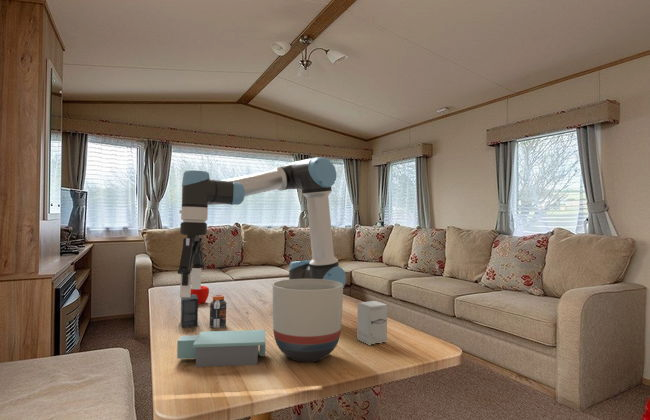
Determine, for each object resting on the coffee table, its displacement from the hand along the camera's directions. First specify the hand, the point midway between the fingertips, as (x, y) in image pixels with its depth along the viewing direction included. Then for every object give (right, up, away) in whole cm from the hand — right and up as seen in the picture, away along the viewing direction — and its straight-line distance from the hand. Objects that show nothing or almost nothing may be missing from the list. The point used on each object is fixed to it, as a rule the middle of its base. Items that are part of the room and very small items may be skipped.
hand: (190, 292), depth 112 cm
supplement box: (+56, -19, +13) cm, 60 cm away
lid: (+11, -16, -7) cm, 20 cm away
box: (-12, -19, +30) cm, 38 cm away
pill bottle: (0, -19, +29) cm, 35 cm away
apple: (-20, -20, +68) cm, 73 cm away
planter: (+35, -18, -3) cm, 39 cm away
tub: (+13, -18, -6) cm, 23 cm away
